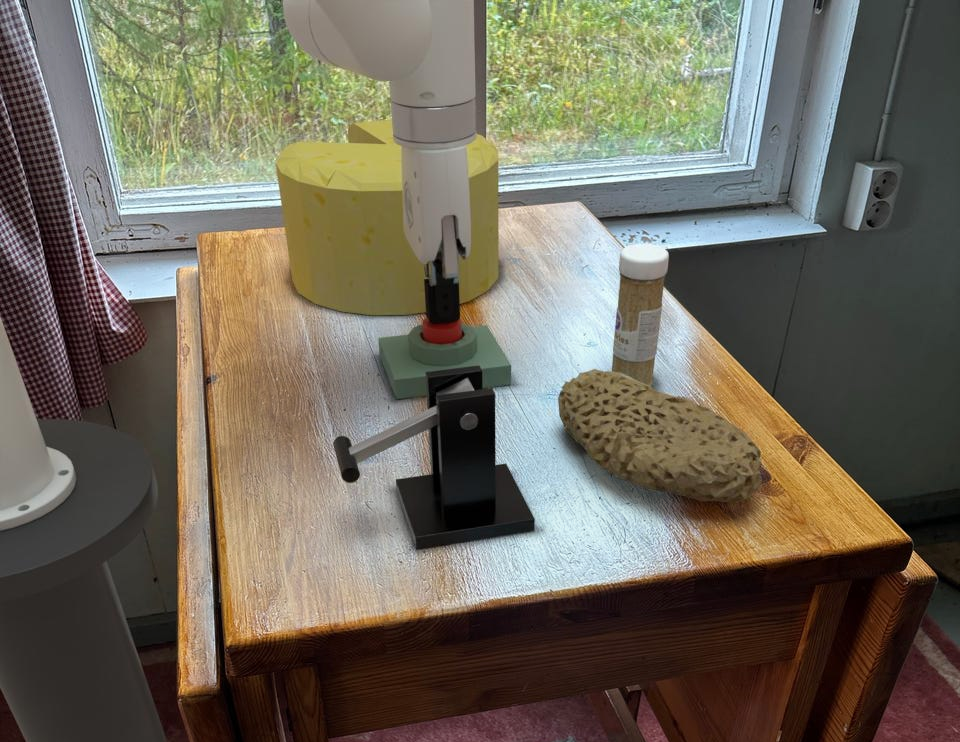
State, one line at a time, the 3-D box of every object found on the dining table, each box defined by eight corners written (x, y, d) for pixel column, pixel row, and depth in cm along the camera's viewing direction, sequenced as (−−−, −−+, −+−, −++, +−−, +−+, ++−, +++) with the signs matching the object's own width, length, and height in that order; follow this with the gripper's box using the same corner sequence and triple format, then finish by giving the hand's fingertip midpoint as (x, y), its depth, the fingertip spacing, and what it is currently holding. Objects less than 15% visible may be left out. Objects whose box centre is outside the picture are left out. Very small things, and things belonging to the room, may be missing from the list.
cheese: (290, 244, 131) (273, 121, 121) (481, 231, 134) (480, 110, 124) (293, 323, 112) (273, 185, 102) (516, 306, 114) (518, 170, 104)
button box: (396, 399, 98) (393, 362, 95) (379, 357, 105) (376, 321, 102) (511, 384, 100) (511, 347, 97) (487, 344, 107) (486, 308, 104)
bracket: (416, 549, 79) (406, 418, 71) (396, 490, 85) (385, 365, 77) (534, 530, 80) (538, 401, 72) (506, 474, 87) (506, 350, 79)
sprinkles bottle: (601, 378, 100) (611, 246, 92) (639, 369, 102) (653, 239, 93) (623, 397, 97) (636, 262, 88) (662, 388, 99) (679, 254, 90)
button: (427, 348, 98) (426, 331, 97) (419, 332, 101) (418, 316, 100) (465, 343, 99) (465, 327, 98) (457, 327, 102) (456, 311, 101)
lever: (349, 490, 76) (335, 467, 74) (340, 458, 79) (327, 435, 78) (489, 423, 75) (478, 398, 73) (474, 393, 79) (463, 369, 77)
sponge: (541, 445, 93) (633, 518, 76) (551, 362, 89) (651, 420, 73) (662, 446, 97) (774, 515, 81) (677, 366, 94) (798, 422, 77)
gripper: (378, 103, 91) (393, 295, 103) (408, 147, 80) (421, 355, 93) (456, 97, 93) (462, 287, 105) (496, 139, 82) (497, 345, 94)
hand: (443, 318), depth 99 cm, fingers closed
